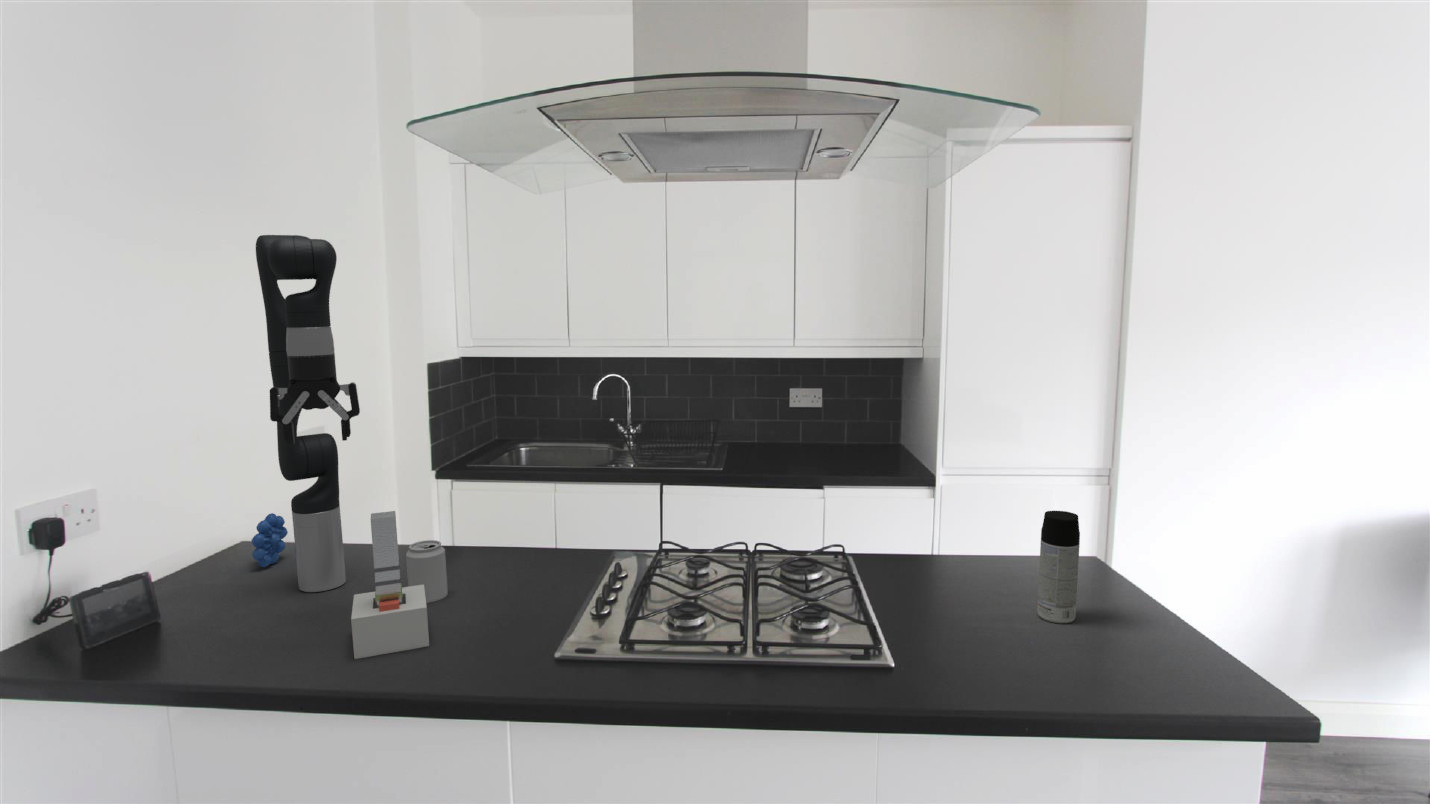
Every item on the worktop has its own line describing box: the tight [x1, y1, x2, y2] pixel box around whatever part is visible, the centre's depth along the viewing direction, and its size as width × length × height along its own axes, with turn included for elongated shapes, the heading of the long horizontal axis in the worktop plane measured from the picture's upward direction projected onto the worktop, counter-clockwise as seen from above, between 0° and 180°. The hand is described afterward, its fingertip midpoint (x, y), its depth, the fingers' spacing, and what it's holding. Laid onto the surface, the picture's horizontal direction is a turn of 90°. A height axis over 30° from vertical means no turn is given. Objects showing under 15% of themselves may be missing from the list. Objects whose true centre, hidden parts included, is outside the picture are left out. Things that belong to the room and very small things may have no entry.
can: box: [405, 539, 449, 604], centre depth 158 cm, size 8×8×12 cm
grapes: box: [251, 513, 289, 568], centre depth 182 cm, size 12×7×12 cm, turn 177°
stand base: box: [350, 585, 430, 660], centre depth 139 cm, size 14×14×9 cm
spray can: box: [1037, 510, 1081, 624], centre depth 145 cm, size 7×7×20 cm
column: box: [370, 510, 403, 608], centre depth 137 cm, size 4×4×16 cm
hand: (318, 442), depth 140 cm, fingers open, 8 cm apart
